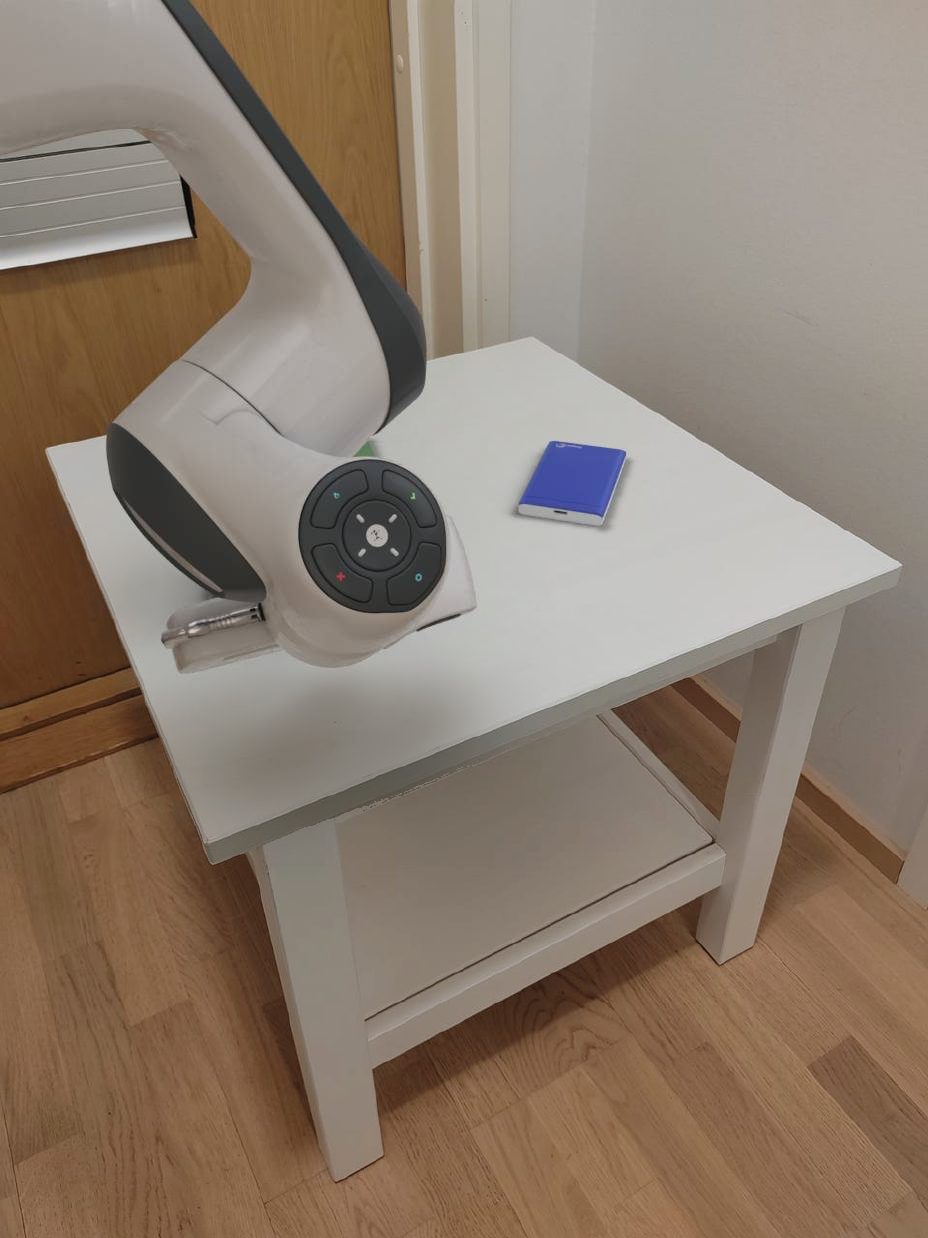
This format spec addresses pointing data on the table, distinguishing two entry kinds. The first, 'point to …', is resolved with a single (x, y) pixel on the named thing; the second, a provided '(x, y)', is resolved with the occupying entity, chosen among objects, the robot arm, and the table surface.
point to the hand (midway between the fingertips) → (312, 623)
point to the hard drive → (573, 483)
